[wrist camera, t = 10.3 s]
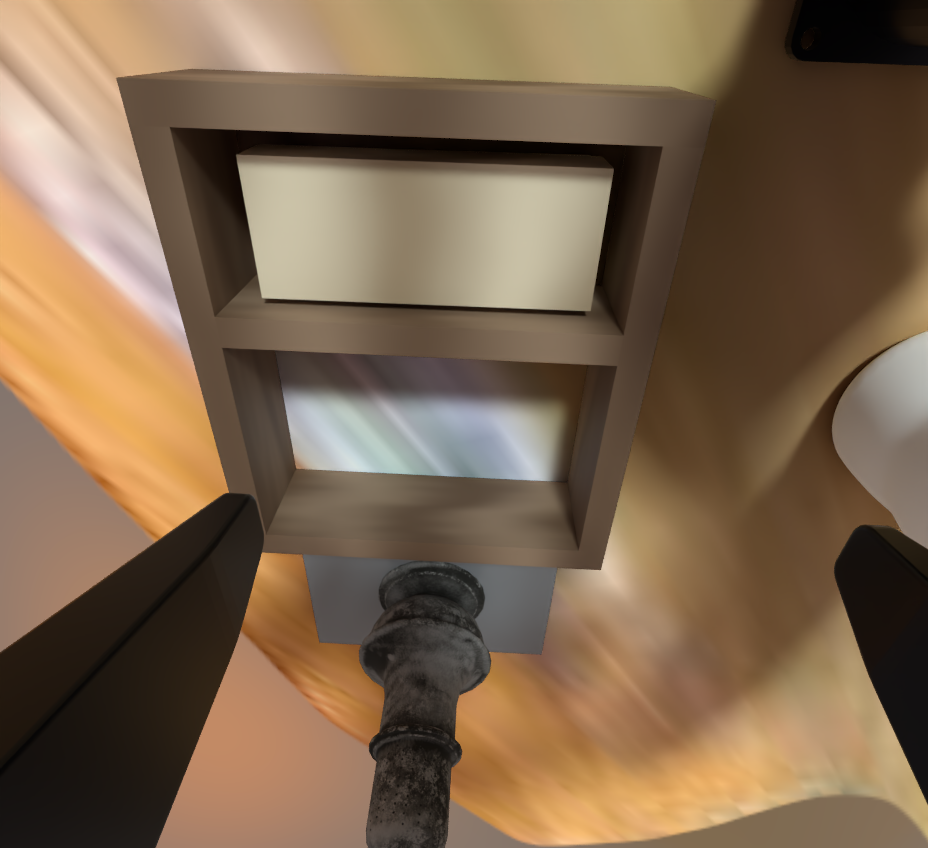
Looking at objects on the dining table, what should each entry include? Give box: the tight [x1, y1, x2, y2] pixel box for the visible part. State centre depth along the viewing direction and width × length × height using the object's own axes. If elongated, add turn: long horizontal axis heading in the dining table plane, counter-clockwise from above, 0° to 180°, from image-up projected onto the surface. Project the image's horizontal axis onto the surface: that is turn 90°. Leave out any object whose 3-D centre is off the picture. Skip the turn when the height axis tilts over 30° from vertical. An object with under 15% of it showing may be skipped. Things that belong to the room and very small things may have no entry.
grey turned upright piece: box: [359, 561, 491, 848], centre depth 23 cm, size 6×6×12 cm
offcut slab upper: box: [236, 144, 614, 311], centre depth 17 cm, size 10×4×2 cm, turn 88°
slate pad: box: [303, 555, 557, 655], centre depth 29 cm, size 12×8×1 cm
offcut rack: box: [116, 69, 716, 570], centre depth 19 cm, size 14×16×4 cm
